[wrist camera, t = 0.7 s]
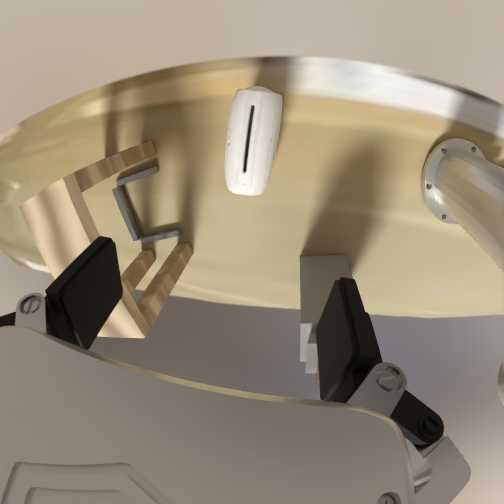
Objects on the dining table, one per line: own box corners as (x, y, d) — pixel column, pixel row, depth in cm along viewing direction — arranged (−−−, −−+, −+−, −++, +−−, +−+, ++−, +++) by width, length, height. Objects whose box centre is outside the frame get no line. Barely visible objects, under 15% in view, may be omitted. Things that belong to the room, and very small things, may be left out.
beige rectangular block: (300, 292, 42) (298, 392, 27) (299, 255, 39) (300, 357, 24) (342, 291, 41) (358, 389, 26) (345, 254, 38) (370, 353, 23)
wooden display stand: (152, 139, 33) (62, 178, 18) (193, 253, 41) (145, 338, 26) (105, 160, 35) (18, 206, 20) (146, 261, 44) (92, 335, 29)
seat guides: (157, 165, 35) (152, 168, 33) (182, 232, 40) (178, 237, 38) (115, 181, 37) (109, 184, 35) (140, 241, 42) (135, 246, 40)
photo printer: (274, 172, 33) (265, 208, 23) (240, 167, 34) (215, 200, 23) (286, 92, 28) (283, 85, 18) (250, 88, 28) (227, 79, 18)
